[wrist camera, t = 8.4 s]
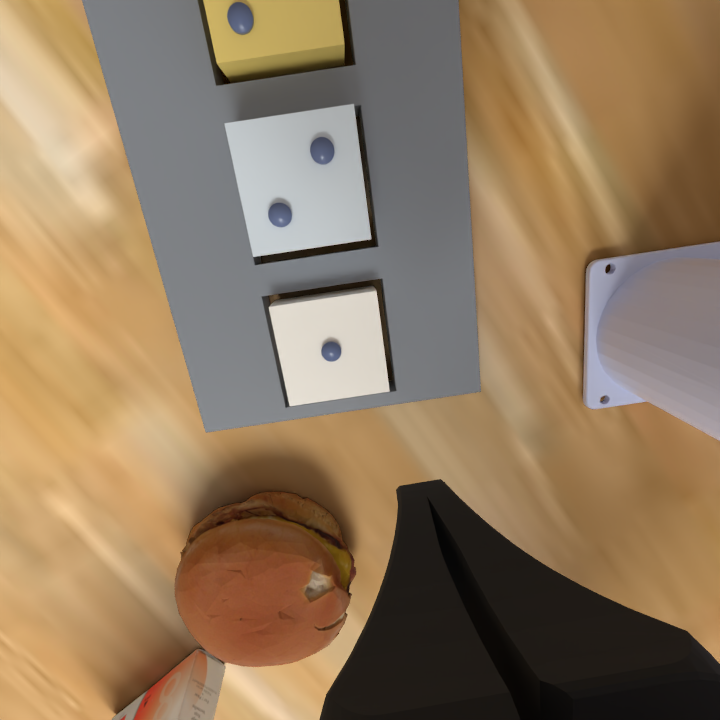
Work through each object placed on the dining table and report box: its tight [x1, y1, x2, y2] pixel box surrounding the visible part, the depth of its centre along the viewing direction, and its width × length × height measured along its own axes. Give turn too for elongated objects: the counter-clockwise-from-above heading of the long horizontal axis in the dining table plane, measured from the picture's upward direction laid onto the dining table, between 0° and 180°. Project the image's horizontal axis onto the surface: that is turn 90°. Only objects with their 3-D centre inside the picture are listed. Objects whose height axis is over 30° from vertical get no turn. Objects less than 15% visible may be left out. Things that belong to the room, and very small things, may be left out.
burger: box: [175, 492, 356, 667], centre depth 23 cm, size 10×9×5 cm
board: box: [82, 0, 481, 432], centre depth 18 cm, size 14×21×2 cm, turn 8°
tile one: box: [269, 286, 390, 406], centre depth 19 cm, size 5×5×2 cm
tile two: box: [224, 104, 371, 257], centre depth 16 cm, size 5×5×2 cm
